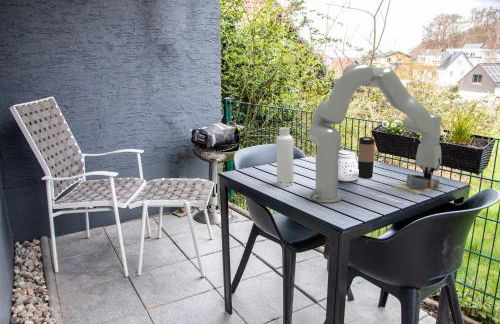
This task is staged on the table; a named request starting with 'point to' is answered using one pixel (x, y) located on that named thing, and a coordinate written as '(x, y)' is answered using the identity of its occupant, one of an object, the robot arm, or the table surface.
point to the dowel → (431, 184)
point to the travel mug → (366, 157)
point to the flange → (419, 181)
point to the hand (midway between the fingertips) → (427, 180)
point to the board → (411, 190)
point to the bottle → (284, 157)
